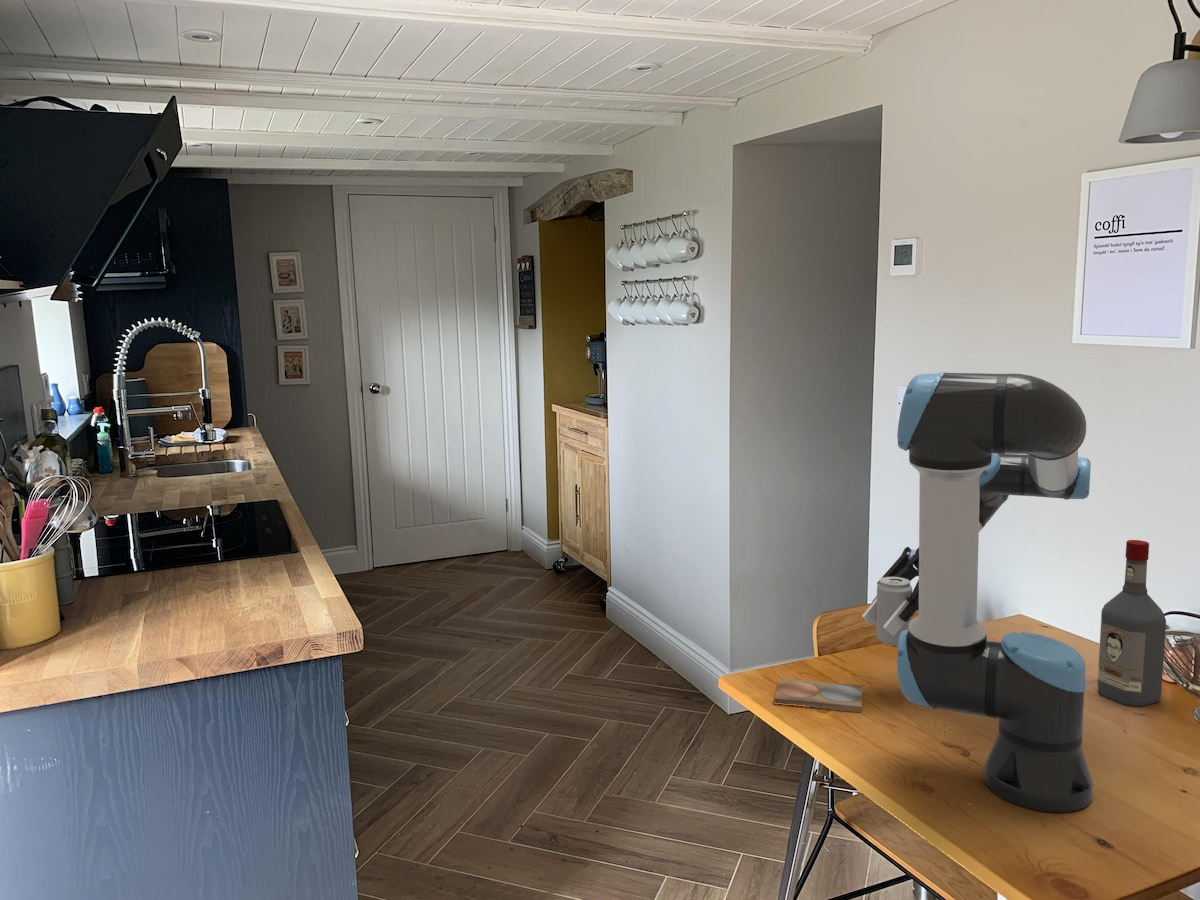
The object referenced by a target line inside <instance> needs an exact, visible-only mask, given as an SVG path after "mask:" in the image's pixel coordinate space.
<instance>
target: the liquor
mask: <svg viewBox="0 0 1200 900" xmlns="http://www.w3.org/2000/svg"><path fill="white" fill-rule="evenodd" d="M1125 543H1126V544H1125V545H1126V546H1125V558H1126V560H1125V571H1124V573H1125V574H1124V585H1123V586H1122V590H1121V591H1120V592H1119V593H1117V594H1116V595H1114V597H1112V598H1111V599H1109V600H1108V602H1106V603H1105V604H1104V605H1103V606H1102V609H1101V615H1100V617H1101V618H1100V631H1099V635H1100V636H1099V651H1098V652H1099V653H1098V669H1097V670H1098V671H1097V687H1098V692H1099V693H1100V694H1101V696H1102V697H1105V698H1108V699H1110V700H1112V701H1115V702H1117V703H1119V704H1122V705H1125V706H1132V707H1133V706H1134V707H1143V706H1147V705H1150V704H1154V703H1157V702H1158V701H1159V700H1161V698H1162V689H1163V688H1162V686H1163V672H1164V658H1165V645H1166V644H1165V643H1166V627H1167V620H1166V616H1165V613H1164V612H1163V610H1162V608H1161V607H1160V606H1159V605H1158V604H1157V603H1156V602H1155V601H1154V599H1153V598H1152V597H1151V596H1150V595H1149V594H1148V589H1147V576H1148V575H1147V572H1148V560H1149V553H1150V542H1148V541H1146V540H1141V539H1140V540H1139V539H1127V541H1126V542H1125ZM1158 703H1159V702H1158Z"/></svg>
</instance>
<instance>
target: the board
mask: <svg viewBox="0 0 1200 900" xmlns="http://www.w3.org/2000/svg"><path fill="white" fill-rule="evenodd" d="M777 683H778V684H777V687H776V691H775V694H774V695H775V696H774V702H776V703H783V704H796V705H805V706H809V707H816V708H815V709H817V708H824V709H823V710H827V709H831V710H830V711H838V710H839V712H848V711H849V712H851V713H860V714H861V713H863V686H864V685H860V684H851V683H841V682H839V683H838V682H829V681H828V682H827V681H818V680H817V681H815V680H806V679H793V678H785V677H783V678H782V677H779V679H778V682H777Z"/></svg>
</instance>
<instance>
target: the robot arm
mask: <svg viewBox="0 0 1200 900" xmlns="http://www.w3.org/2000/svg"><path fill="white" fill-rule="evenodd" d="M1084 413H1085V412H1084V411H1083V409H1082V408H1081V406H1080V405H1079V403H1078V402H1077V401H1076V399H1074V398H1073V397H1072V396H1071V395H1070V394H1069V393H1068V392H1066V391H1064V389H1062V388H1060V387H1059V386H1057V385H1055V384H1053V383H1052V382H1050V381H1047V380H1045V379H1043V378H1039V377H1037V376H1032V375H1029V374H1022V373H981V372H979V373H974V372H972V373H971V372H945V371H942V372H936V373H935V372H933V373H920V374H917V375H915V376H914V377H912V378H911V380H910V381H909V382H908V384H907V386H906V389H905V392H904V395H903V399H902V403H901V406H900V412H899V417H898V418H899V419H898V424H897V447H898V448H899V449H901V450H903V451H906V452H907V451H909V452H908V456H909V457H908V458H909V459H908V461H909V462H908V463H909V464H910V465H911V466H912V467H913V468H914V469H915V470H917V472H918V473H919V512H918V513H919V516H918V517H919V519H918V522H919V524H918V525H919V526H918V537H919V538H918V539H919V540H918V547H917V549H911V547H909V546H906V547H904V549H903V551H902V553H901V555H899V557H898V558H897V559H896V561H895V562H893V564H892V565H891V566H890V567H889V568H888V570H887V571H886V572H885V573H884V574H883V575H882V577H881V578H883V577H900V578H905V579H908V580H909V581H910V582H911V581H912V580H913V579H914V578H915V577H918V579H917V582H916V584H915V586H914V589H912V594H911V596H910V597H908V598H907V597H906V599H907V600H908V601H909V603H908V602H907V601H904V602H903V603H902V604H901V605H900V606H899V607H898V608H897V610H896V611H895V612H894V613H893V615H892V616H891V617H890V618H889V620H888V621H887V622H886V623H885V625H884V626H883V628H884V629H885V630H886V631H887V632H888V633H889V634H890V635H891V636H893V637H894V636H895V634H896V633H897V632H898V631H899V629H900V628H901V627H902V626H903V624H904V623H905V622H907V621H908V620H909V619H910V618H911V616H912V617H913V615H914V614H915V613H916V612H917V611H918V614H917V615H916V616H914V617H913V618H912V620H911V621H910V622H909V627H908V629H907V630H904V631H902V632H901V634H900V636H899V640H898V645H896V647H897V648H896V649H897V650H896V651H897V652H896V653H897V658H896V665H897V676H898V682H899V687H900V689H901V692H902V694H903V696H904V698H905V699H906V700H907V701H909V702H910V703H913V704H916V705H919V706H923V707H924V706H926V707H928V708H930V709H933V710H937V709H939V710H944V711H951V712H955V713H962V714H968V715H972V716H973V715H975V716H979V717H986V718H993V719H998V733H997V734H996V735H997V736H996V738H995V740H994V742H993V744H992V747H991V749H990V751H989V753H988V756H987V758H986V760H985V764H984V781H985V784H986V785H987V787H988V788H989V789H990V790H991V791H992V792H993V793H994V794H996V796H999V797H1000V798H1002V799H1003V800H1005V801H1008V802H1010V803H1012V804H1014V805H1017V806H1020V807H1023V808H1027V809H1031V810H1034V811H1041V812H1049V813H1066V812H1067V813H1069V812H1074V811H1079V810H1082V809H1084V808H1086V807H1087V806H1089V804H1090V803H1091V802H1092V800H1093V793H1094V792H1093V790H1094V784H1093V778H1092V776H1091V771H1090V769H1089V766H1088V762H1087V758H1086V755H1085V753H1084V750H1083V733H1084V730H1083V729H1084V709H1085V707H1084V705H1085V704H1084V703H1085V692H1086V691H1087V687H1088V685H1087V681H1086V663H1085V659H1084V658H1083V656H1082V655H1081V653H1079V652H1078V651H1077V650H1076V649H1075V648H1073V647H1071V646H1070V645H1068V644H1067V643H1064V642H1063V641H1060V640H1058V639H1055V638H1052V637H1049V636H1046V635H1042V634H1038V633H1033V632H1025V631H1024V632H1023V631H1022V632H1015V631H1014V632H1009V633H1006V634H1005V635H1003V636H1002V639H1001V640H1000V642H998V641H997V642H996V641H992V640H991V641H990V640H987V635H988V631H987V627H986V626H984V624H983V623H982V622H980V621H979V620H978V619H977V618H978V614H977V613H978V583H979V582H978V581H979V576H978V575H979V573H978V572H979V538H980V536H979V535H980V532H981V531H982V530H983V528H984V527H985V526H986V525H987V524H988V522H989V521H990V520H991V518H992V517H993V516H994V515H996V514H995V513H996V512H997V511H998V510H999V509H1000V508H1001V507H1002V505H1003V504H1005V502H1007V501H1008V499H1009V497H1010V496H1020V497H1025V496H1026V497H1034V498H1035V497H1039V498H1051V499H1063V500H1065V501H1066V500H1067V501H1068V500H1085V499H1087V498H1088V497H1089V496H1090V486H1091V484H1090V483H1091V469H1092V468H1091V467H1092V466H1091V465H1092V464H1091V463H1092V462H1091V461H1090V459H1089V458H1087V457H1081V456H1079V449H1080V447H1081V446H1082V445H1083V444H1084V443H1083V442H1084V441H1085V438H1086V434H1087V419H1086V415H1085V414H1084ZM879 583H880V582H879V580H878V581H877V583H876V584H877V585H878V584H879ZM876 614H877V595H876V596H875V597H874V599H873V600H872V602H871V604H870V605H869V606H868V608H867V609H866V610H865V611H864V613H863V614H862V615H861V617H862V618H863V619H864V620H865V622H867V623H868V624H869V625H870V626H873V625H874V624H875V623H876Z"/></svg>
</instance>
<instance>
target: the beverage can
mask: <svg viewBox="0 0 1200 900" xmlns="http://www.w3.org/2000/svg"><path fill="white" fill-rule="evenodd" d="M882 577H883V576H882ZM882 577H880V578H879V580H878V581H879V582H880V583H879V584H878V585H877V586H876V596H877V614H876V622H875V623H876V624H875V637H876V639H878V640H879V641H880V643H882V644H885V645H889V646H898V640H899V636H900V634H901V632H902V631H904V630H907V629H908V627H909V622H910V621H911V620H912V619H913V618H912V617H913V615H912V616H911V618H910V619H909V620H908V621H907V622H905V623H904V624H903V626H902V627H901V628H900V629H899V631H898V632H897V633H896V634H895V636H894V637H893V636H891V635H890V634H889V633H888V632H887V631H886V630H885V629H884V628H883V626H884V625H885V623H886V622H887V621H888V620H889V618H890V617H891V616H892V615H893V613H894V612H895V611H896V610H897V608H898V607H899V606H900V605H901V604H902V603H903V602H904V601H907V602H908V603H909V601H908V600H907V599H906V597H907V598H908V597H910V596H911V594H912V592H913V587H912V585H911V581H909V580H908V579H905V578H900V577H883V578H882Z"/></svg>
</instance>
